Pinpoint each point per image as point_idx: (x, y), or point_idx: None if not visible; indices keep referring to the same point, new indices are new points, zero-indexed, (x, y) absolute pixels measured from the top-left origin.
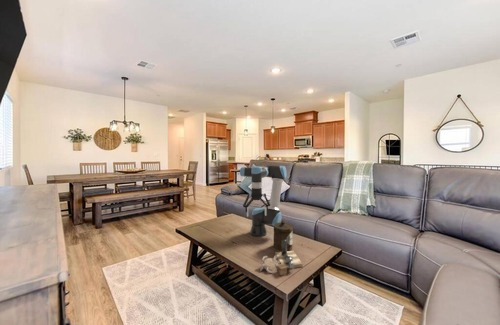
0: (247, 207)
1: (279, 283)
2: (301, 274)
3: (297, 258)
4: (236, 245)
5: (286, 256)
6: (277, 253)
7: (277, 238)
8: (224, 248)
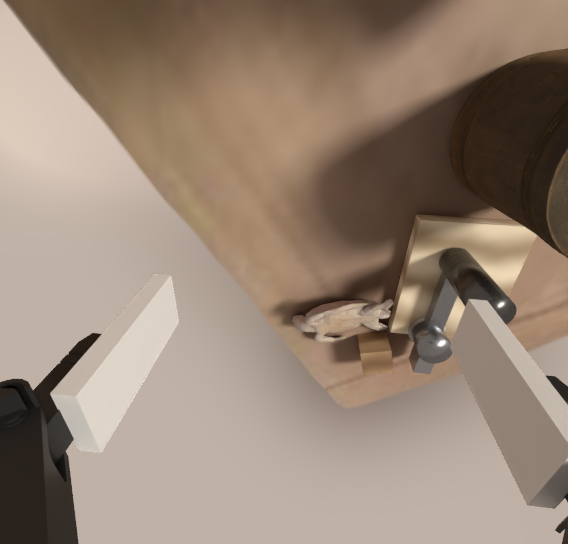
0: (74, 419)
1: (337, 382)
2: (439, 366)
3: None
4: (192, 16)
5: (443, 307)
6: (426, 236)
7: (494, 197)
8: (109, 55)
